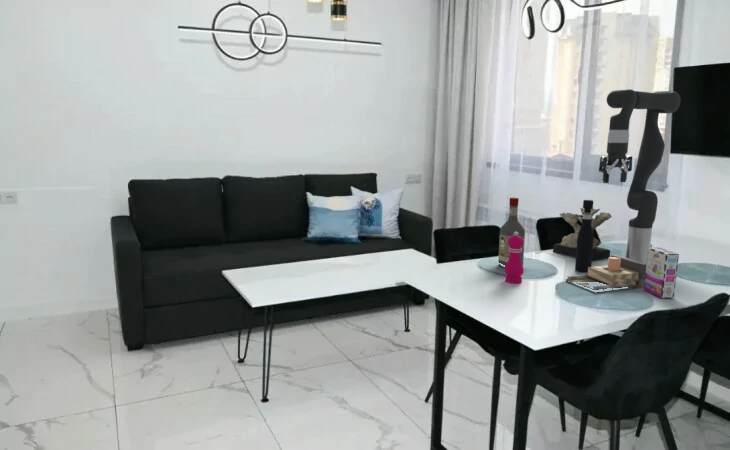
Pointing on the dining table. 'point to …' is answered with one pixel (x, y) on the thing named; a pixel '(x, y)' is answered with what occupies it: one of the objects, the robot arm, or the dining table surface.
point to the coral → (570, 241)
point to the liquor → (510, 233)
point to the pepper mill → (514, 259)
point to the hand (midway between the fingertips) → (614, 182)
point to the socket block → (612, 275)
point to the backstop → (626, 264)
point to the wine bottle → (585, 240)
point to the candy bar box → (661, 272)
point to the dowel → (614, 264)
